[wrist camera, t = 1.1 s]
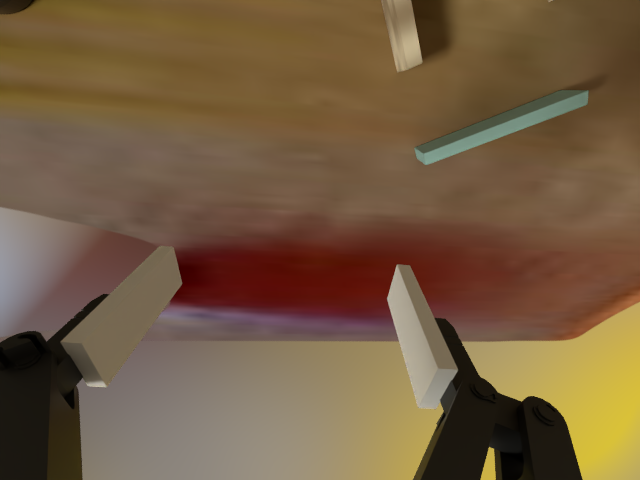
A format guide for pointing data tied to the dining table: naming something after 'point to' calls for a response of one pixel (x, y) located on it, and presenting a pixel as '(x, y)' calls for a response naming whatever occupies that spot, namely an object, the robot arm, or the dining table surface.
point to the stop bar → (502, 125)
